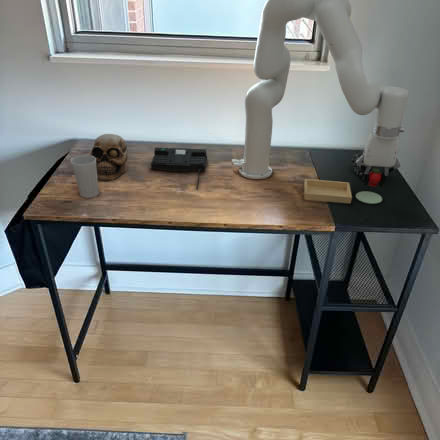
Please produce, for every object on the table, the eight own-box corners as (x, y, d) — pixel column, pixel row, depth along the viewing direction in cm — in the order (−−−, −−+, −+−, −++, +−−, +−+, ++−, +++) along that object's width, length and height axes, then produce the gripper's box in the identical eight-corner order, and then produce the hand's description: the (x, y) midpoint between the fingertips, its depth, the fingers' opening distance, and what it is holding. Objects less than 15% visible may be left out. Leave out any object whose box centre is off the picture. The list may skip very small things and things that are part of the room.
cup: (105, 190, 155) (100, 157, 148) (93, 200, 149) (87, 166, 142) (85, 186, 157) (79, 153, 149) (72, 196, 151) (65, 162, 144)
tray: (303, 200, 153) (305, 193, 151) (303, 186, 161) (304, 178, 160) (350, 204, 151) (352, 197, 149) (347, 189, 160) (349, 182, 158)
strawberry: (366, 186, 150) (370, 172, 147) (365, 181, 153) (368, 166, 150) (380, 187, 149) (384, 173, 146) (378, 182, 153) (382, 167, 150)
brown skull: (101, 182, 159) (95, 144, 152) (84, 170, 171) (77, 134, 164) (141, 173, 167) (137, 137, 160) (121, 162, 179) (117, 128, 172)
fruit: (376, 161, 158) (372, 144, 169) (352, 166, 160) (349, 149, 171) (379, 183, 163) (374, 165, 174) (355, 187, 165) (352, 170, 176)
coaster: (356, 203, 152) (356, 202, 151) (354, 191, 159) (354, 190, 158) (383, 206, 151) (384, 204, 151) (380, 194, 158) (380, 192, 158)
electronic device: (144, 187, 158) (143, 174, 154) (157, 154, 181) (156, 142, 178) (203, 189, 157) (203, 176, 154) (207, 156, 181) (208, 143, 178)
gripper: (411, 128, 142) (396, 181, 153) (357, 124, 144) (346, 177, 155) (416, 136, 136) (400, 191, 148) (360, 132, 138) (348, 187, 149)
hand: (372, 183), depth 151 cm, fingers closed on strawberry, 4 cm apart
